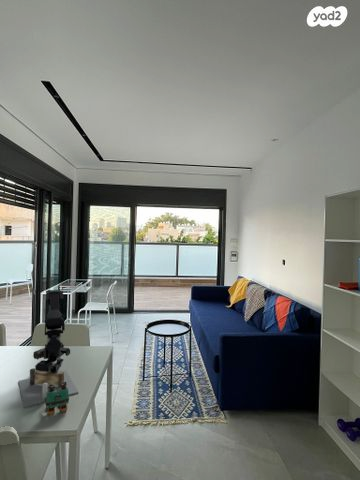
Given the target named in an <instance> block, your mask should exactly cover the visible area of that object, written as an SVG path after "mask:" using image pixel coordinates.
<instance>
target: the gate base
mask: <svg viewBox="0 0 360 480" xmlns="http://www.w3.org/2000/svg"><path fill="white" fill-rule="evenodd" d="M60 372H64V382H67V385H66V387H68V394H69V397H70V396H74V395H77V394H79V391H78V389H77V386H76V385H75V383H74V382H73V380H72V378H71V377H70V375H69V373H68V371H67V370H66V369H64V370H58V372H57V373H60ZM18 385H19V391H20V395H21V396H20V397H21V398H22V399H21V400H22V404H23V408H24V409H26V408H30V407H34V406H38V405H40V404H44V403H45V404H46V401H45V398H46V397H47V391H48V390H49V385H47V383H43V384H33V385H30V377H29V378H24V379H20V380H18ZM54 386H55V387H54V389H56V390H57V392H59V389H60V388H62V387H58V385H54Z"/></svg>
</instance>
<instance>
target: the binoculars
mask: <svg viewBox="0 0 360 480" xmlns="http://www.w3.org/2000/svg"><path fill="white" fill-rule="evenodd" d="M66 385H67V382H63V383H62V384H61V386H62V388H60V389H59V392H57V390H56V389H54V387H55V386H54V385H49V390H48V391H47V397H46V398H45V401H46V402H45V408H47V413H46V414H47V415H54V414H55V412H56V409H55V408H57V407H59V411H60V412H66V411H68V404H69V402H70V396H69V394H68V387H66Z"/></svg>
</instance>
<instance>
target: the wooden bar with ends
mask: <svg viewBox="0 0 360 480" xmlns="http://www.w3.org/2000/svg"><path fill="white" fill-rule="evenodd" d="M29 378H30V385H33V384H43V383H47V385H58V387H62V386H61V384H62V383H63V382H64V372H60V373H53V372H50V371H47V372H45V371H36V370H35V367H34V368H30V369H29Z"/></svg>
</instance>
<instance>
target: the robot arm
mask: <svg viewBox="0 0 360 480" xmlns="http://www.w3.org/2000/svg"><path fill="white" fill-rule="evenodd" d="M62 299H64V290H63V291H62V290H61V289H52V290H51V289H50V290H48V291H47V292H45V300H47V305H48V306H49V312H48V313H47V314H46V319H45V320H44V336H46V343H45V344H44V347H43V348H40V349H38V350H34V352H33V355H32V357H33V359H34V360H39V359H42V358H43V359H45V360H40V361H39V362H37V364H35V367H34V368H35V371H40V372H53V373H57V372H59V371H60V370H59V369H60V368H61V366H62V363H63V362H64V358H61V357H63V355H65V356H67V357H68V356H69V355H71V349H70V348H69V347H65V344H63V342H62V338H61V337H62V334H64V331H65V328H66V327H65V325H66V324H65V323H66V322H65V321H66V320H65V319H64V318H63V317H62V313H61V311H60V305H61V303H62V302H63V301H62Z"/></svg>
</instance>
